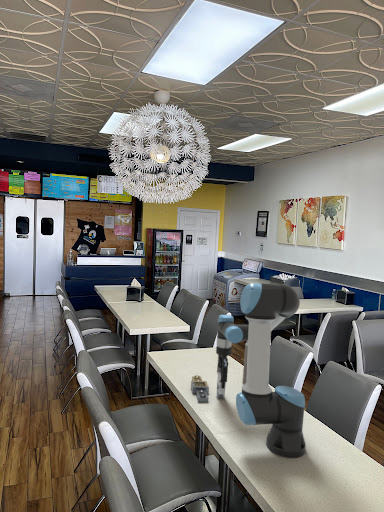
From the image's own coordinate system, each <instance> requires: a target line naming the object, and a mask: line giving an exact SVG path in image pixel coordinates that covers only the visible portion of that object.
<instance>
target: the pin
mask: <svg viewBox="0 0 384 512" xmlns="http://www.w3.org/2000/svg"><path fill="white" fill-rule="evenodd" d="M217 371H218V373H217V378H218V381H217V380H216V399H217V400H224V399H225V396H226V393H225V394H219V390H220V382H219V380H220V381H221V367H218V368H216V372H217Z"/></svg>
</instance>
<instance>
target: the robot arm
mask: <svg viewBox="0 0 384 512" xmlns="http://www.w3.org/2000/svg"><path fill="white" fill-rule="evenodd" d="M300 304H301V301H300V296H299V294H298V292H297V291H296V290H295V289H294V288H293V287H292V286H290V285H288V284H285V283H284V284H283V283H263V282H261V283H260V282H256V283H255V282H254V283H253V282H251V283H248V284H247V285H245V287H244V288H243V290H242V292H241V295H240V302H239V305H240V310H241V312H242V313H243V314H245V316H244V318H245V319H246V320H247V321H248V324H235V323H234V316H232V315H230V314H220V315H219V316H218V320H217V333H216V335H217V336H216V348H215V352H216V355H218V356H217V368H218V367H221V381H220V380H219V382H220V390H219V394H225V395H226V384H227V382H228V373H229V371H228V370H229V362H228V361H229V359H228V356H231V354H232V347H233V346H232V344H238V343H240V342H244V341H245V342H247V341H248V353H247V375H246V384H243V385H242V386H241V392H238V393H236V396H235V405H236V411H237V415H238V417H239V420H240V421H241V422H242V423H243V424H244V425H246V426H261V425H271V427H270V429H269V432H268V434H267V436H266V442H265V443H266V447H267V449H269V451H271V452H272V453H273V454H276V455H278V456H281V457H285V458H291V459H292V458H299V457H302V456H303V455H304V454H305V453H306V439H305V438H304V433H303V432H304V431H303V428H304V417H305V407H306V400H305V399H306V397H305V395H304V394H303V393H302V392H301V391H299V390H298V389H297V388H293V387H291V386H287V385H278V386H276V387H275V388H274V391H273V388H272V387H271V386H270V383H269V381H270V379H269V378H270V360H271V357H270V356H271V339H272V337H271V336H272V331H273V330H274V329H275V328H276V327H277V326H279V325H280V324H281V323H282V322H283V321H284V320H286V319H288V318H291V317H292V316H294V315H295V314H296V313H297V312H298V310H299V308H300ZM217 368H216V369H217ZM216 372H217V374H218V371H217V370H216ZM217 381H218V377H217V379H216V382H217Z"/></svg>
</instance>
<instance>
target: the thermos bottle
mask: <svg viewBox="0 0 384 512" xmlns="http://www.w3.org/2000/svg"><path fill="white" fill-rule="evenodd" d="M244 345H245V347H244V357H243V358H244V360H243V368H242V369H243V370H242V371H243V373H242V383H241V384H243V385H244V384H246V375H247V353H248V341H246V343H245V344H244Z"/></svg>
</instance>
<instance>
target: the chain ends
mask: <svg viewBox="0 0 384 512" xmlns="http://www.w3.org/2000/svg"><path fill="white" fill-rule="evenodd" d="M190 389H191V393H192V395H195V397H196V399H197V402H198V403H209V399H210V397H209V392H210V387H209V384H208V381H207V380H203V378H202V376H200V375H197V374H196V375H194V376H191V381H190Z"/></svg>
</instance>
